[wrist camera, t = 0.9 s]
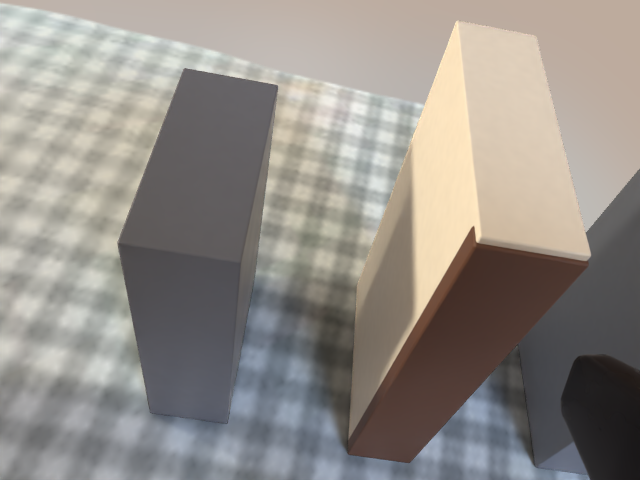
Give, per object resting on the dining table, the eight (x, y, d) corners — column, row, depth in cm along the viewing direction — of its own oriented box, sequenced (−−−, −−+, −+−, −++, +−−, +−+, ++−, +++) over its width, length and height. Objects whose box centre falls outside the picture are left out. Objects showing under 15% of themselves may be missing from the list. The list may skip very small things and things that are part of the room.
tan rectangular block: (408, 465, 23) (596, 260, 12) (345, 456, 23) (477, 240, 12) (407, 292, 28) (538, 35, 17) (356, 283, 28) (454, 19, 17)
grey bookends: (605, 477, 24) (832, 358, 15) (149, 413, 23) (116, 242, 14) (573, 327, 28) (736, 168, 20) (190, 266, 27) (183, 67, 18)
